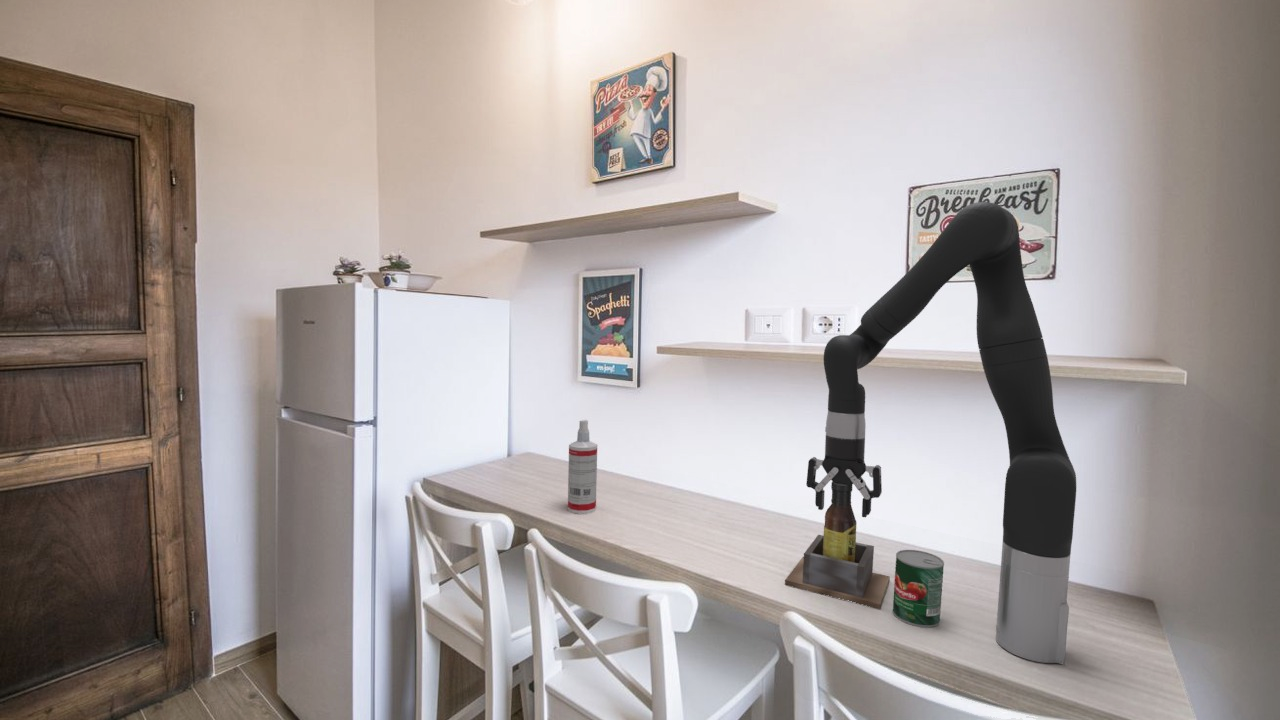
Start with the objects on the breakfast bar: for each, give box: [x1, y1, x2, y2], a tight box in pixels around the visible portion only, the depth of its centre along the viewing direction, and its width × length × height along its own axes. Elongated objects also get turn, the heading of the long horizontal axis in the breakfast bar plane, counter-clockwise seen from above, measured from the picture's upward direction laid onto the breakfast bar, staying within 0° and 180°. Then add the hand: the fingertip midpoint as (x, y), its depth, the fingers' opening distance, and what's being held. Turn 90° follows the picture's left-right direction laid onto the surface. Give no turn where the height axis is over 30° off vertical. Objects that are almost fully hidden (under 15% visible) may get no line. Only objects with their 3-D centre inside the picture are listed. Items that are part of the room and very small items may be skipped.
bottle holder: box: [784, 534, 891, 610], centre depth 117 cm, size 18×14×7 cm
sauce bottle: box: [823, 480, 857, 563], centre depth 117 cm, size 7×6×20 cm
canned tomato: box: [891, 549, 945, 628], centre depth 104 cm, size 8×8×11 cm
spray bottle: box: [567, 419, 598, 515], centre depth 158 cm, size 8×8×25 cm
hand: (842, 512), depth 116 cm, fingers open, 8 cm apart
